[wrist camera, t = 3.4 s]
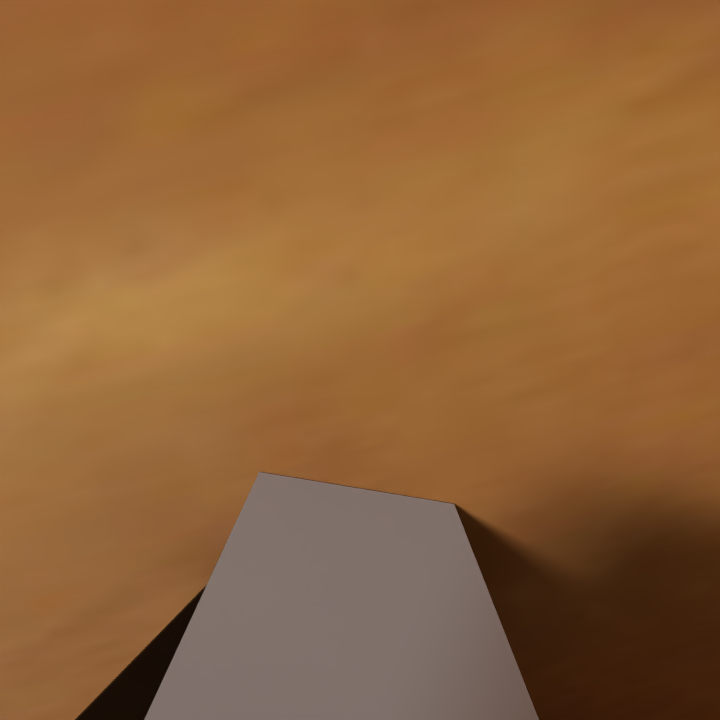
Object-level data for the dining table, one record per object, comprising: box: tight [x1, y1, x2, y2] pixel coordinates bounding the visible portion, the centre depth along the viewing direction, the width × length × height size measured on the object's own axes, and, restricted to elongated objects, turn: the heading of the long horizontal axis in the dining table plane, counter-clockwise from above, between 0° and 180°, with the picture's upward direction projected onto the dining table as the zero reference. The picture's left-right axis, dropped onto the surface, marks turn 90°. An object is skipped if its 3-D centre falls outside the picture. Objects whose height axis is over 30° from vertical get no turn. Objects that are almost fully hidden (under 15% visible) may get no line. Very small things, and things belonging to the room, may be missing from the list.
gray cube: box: [144, 472, 539, 720], centre depth 7 cm, size 5×5×5 cm
